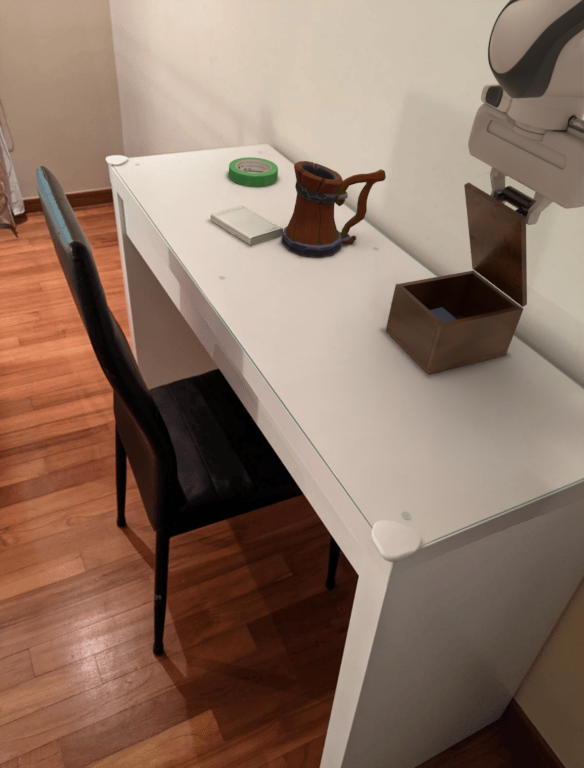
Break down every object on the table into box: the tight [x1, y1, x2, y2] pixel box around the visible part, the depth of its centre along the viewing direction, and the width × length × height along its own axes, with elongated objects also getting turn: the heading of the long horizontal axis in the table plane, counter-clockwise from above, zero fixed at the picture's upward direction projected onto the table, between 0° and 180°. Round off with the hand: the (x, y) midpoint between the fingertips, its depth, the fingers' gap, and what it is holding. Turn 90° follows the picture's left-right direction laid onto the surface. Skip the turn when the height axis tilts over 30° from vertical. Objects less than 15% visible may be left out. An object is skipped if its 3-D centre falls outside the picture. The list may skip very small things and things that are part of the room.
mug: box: [281, 160, 387, 258], centre depth 112 cm, size 18×12×15 cm, turn 101°
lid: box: [463, 182, 536, 308], centre depth 86 cm, size 15×12×5 cm
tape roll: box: [228, 156, 279, 188], centre depth 138 cm, size 11×11×3 cm
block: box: [430, 307, 457, 323], centre depth 91 cm, size 4×4×4 cm
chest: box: [385, 270, 524, 375], centre depth 92 cm, size 15×12×8 cm
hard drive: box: [209, 205, 284, 246], centre depth 118 cm, size 2×8×12 cm
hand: (511, 212), depth 83 cm, fingers closed on lid, 5 cm apart
